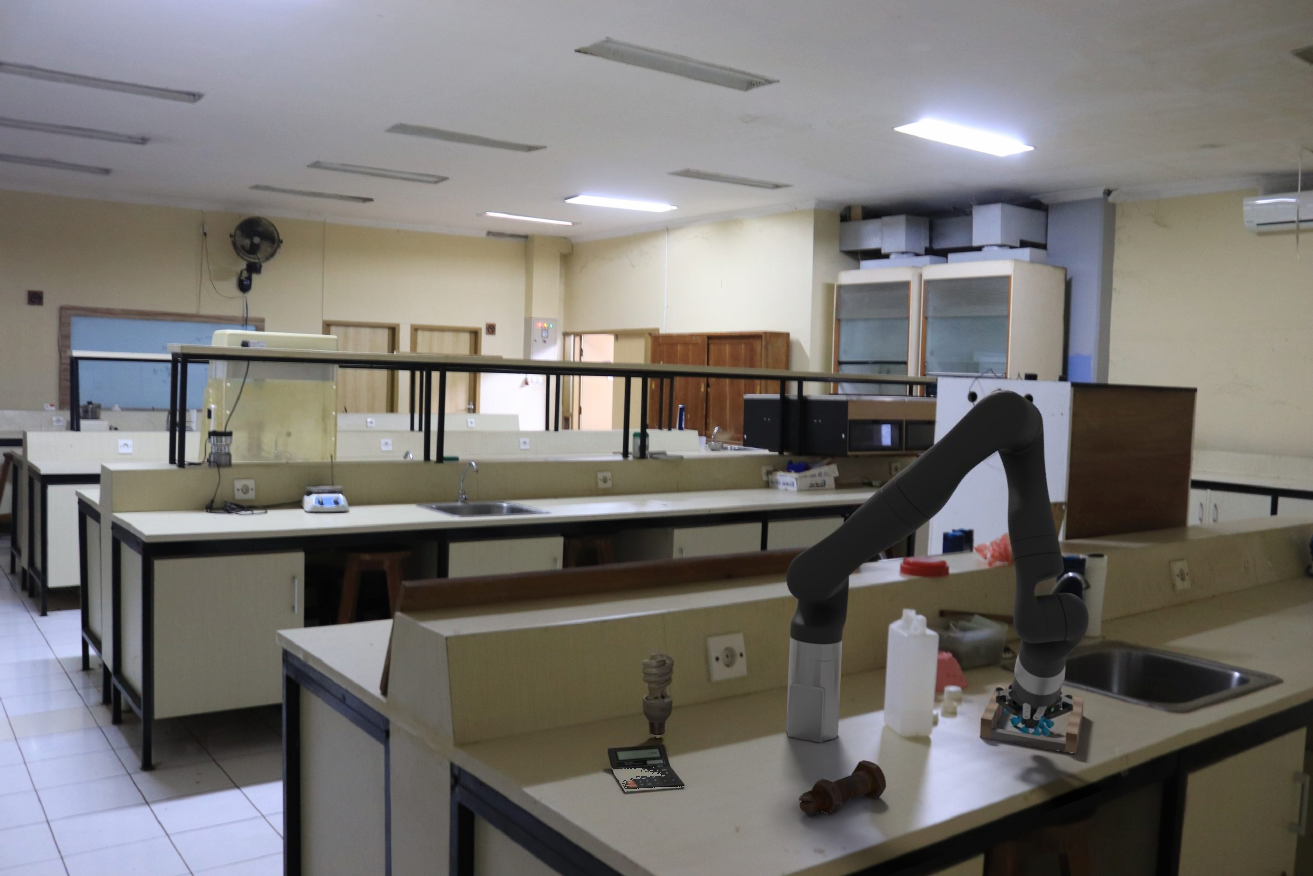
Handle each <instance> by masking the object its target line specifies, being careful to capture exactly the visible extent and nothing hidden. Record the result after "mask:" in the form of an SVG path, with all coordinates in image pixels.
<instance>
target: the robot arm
mask: <svg viewBox="0 0 1313 876" xmlns="http://www.w3.org/2000/svg"><path fill="white" fill-rule="evenodd" d="M1043 420H1044V419H1043V416H1042V413H1041V411H1040V410H1039V408H1038V407H1037V406H1036V404H1034V403H1033V402H1032V401H1030V400H1029V399H1028V398H1026V397H1024V396H1023V395H1021V394H1019V393H1017V392H1016V391H1013V390H1010V389H1009V390H1008V389H1000V390H997V391H996V390H995V391H994V392H993V391H992V392H990V393H988V394H987V395H985V396H983V397H982V398H981V399H980V400H979V401H978V402H977V403H976V404H974V405H973V407H971V409H970V410H968V412H966V414H965V415H963V417H962V418H961V419H960V420H959V421H958V422H957V423H956V424H955V425H954V426H953V427H952V428H951V429H950V430H949V431H948V432H947V433H946V434H945V435H944V436H942V438H940V439H939V440H938V441H937V442H936V443H934V445H932V446H930V447H929V448H928V449H927V450H925V452H923V453H922V454H920V455H919V456H918V457H917V458H916V459H915V460H913V461H912V462H911V463H910V464H908V465H907V466H906V467H905V468H903V469H902V470H901V471H899V472H898V473H897V474H896V475H894V476H893V477H892V478H891V479H889V480H888V481H887V482H886V483H885V484H883V485H881V487H880V488H879V489H878V490H877V491H875V492H874V493H873V494H872V495H871V496H870V497H869V498H868V499H867V500H866V501H865V502H864V503H862V505H860V506H859V507H858V508H857V509H856V510H855V511H854V512H853V513H852V514H851V515H850V516H849V517H848V518H847V519H846V520H845V522H843V523H842V524H841V525H840V526H839V527H838V528H837V529H835V530H834V531H833V532H832V533H831V532H830V534H829V535H827V536H826V537H824V538H823V539H820V541H818V542H816V543H815V544H813V545H812V546H810V547H809V548H807V549H805V550H804V551H802V552H801V553H799V554H798V555H796V556H795V557H794V558H793V559H792V560H791V562H790V564H789V566H788V568H787V571H786V585H787V589H788V591H789V593H790V594H791V596H793V597H794V598H795V599H797V606H796V610H795V613H794V616H793V617H792V619H791V622H790V629H789V631H790V632H789V634H790V635H789V652H788V653H789V655H788V656H789V657H788V658H789V659H788V674H787V675H788V676H787V679H788V680H787V697H786V699H787V702H786V703H787V704H786V725H785V728H786V729H785V730H786V732H787V737H789V738H795V739H799V740H805V741H810V742H816V743H820V744H821V743H823V742H825V741H831V740H834V739H836V738H837V737H838V736H839V721H840V699H841V697H840V696H841V695H840V694H841V672H842V654H843V653H842V651H843V650H842V649H843V647H842V646H843V633H844V632H843V631H844V628H845V624H846V622H847V617H848V615H847V614H848V605H849V590H850V576H851V575H852V573H854V572H855V571H856V570H858V568H860V567H861V566H863V565H864V564H865V562H867V561H869V560H870V559H872V558H874V557H875V556H877V555H880V554H881V553H883V552H884V551H886V550H888V549H890V548H891V547H893V546H894V545H896V544H898V543H900V542H902V541H903V540H905V539H906V538H907V537H909V536H910V535H912V534H914V532H916V531H917V530H919V529H920V528H921V527H923V525H925V524H926V523H928V522H929V521H930V520H931V519H932V518H934V517H935V516H936V515H938V514H939V513H940V511H941V510H942V509H943V508H944V507H945V506H946V504H947V503H948V502H949V500H950V499H951V497H952V496H953V495H954V493H955V491H956V490H957V488H958V487H959V486H960V484H961V482H962V481H963V480H964V478H965V477H966V476H967V475H968V474H969V473H970V472H971V471H972V470H973V469H974V468H975V467H977V466H978V465H980V464H981V463H982V462H984V461H985V460H986V459H988V458H989V457H991V456H992V455H994V454H995V453H998V455H999V458H1000V460H1001V462H1002V466H1003V469H1004V474H1005V477H1006V482H1007V495H1008V497H1007V498H1008V499H1007V530H1008V537H1009V543H1010V548H1011V553H1012V558H1013V565H1014V570H1015V596H1014V597H1015V598H1014V606H1013V617H1012V618H1013V627H1014V630H1015V632H1016V634H1017V635H1018V637H1019V638H1020V639H1021V640H1020V647H1019V652H1018V655H1017V657H1016V660H1015V666H1014V672H1013V677H1012V678H1013V679H1012V682H1011V684H1009V685H1008V686H1007V689H1006V690H1004V689H1003V688H1001V687H997V686H996V687H997V688H996V687H995V689H996V702H997V703H998V704H999V705H1000V706H1002V707H1003V708H1004V709H1006V710H1007V711H1008V712H1009V713H1011V715H1012V716H1013V717H1017V716H1019V715H1021V725H1022V726H1025V728H1029V730H1030V729H1031V730H1034V726H1036V727H1037V726H1038V725H1039V720H1040V719H1041V718H1042V717H1045V719H1047V720H1053V719H1056V718H1058V717H1060V716H1062V715H1065V714H1067V713H1070V712H1071V711H1073V698H1074V696H1073V695H1072V694H1065V695H1063V692H1062V687H1063V684H1064V682H1065V678H1066V677H1065V676H1066V675H1065V674H1066V663H1067V659H1068V656H1069V655H1070V654H1071V653H1072V652H1073V651H1074V650H1075V648H1077V646H1078V645H1079V644H1080V643H1081V641H1082V640H1083V639H1084V637H1085V635H1086V634H1087V631H1088V626H1089V620H1090V619H1089V618H1090V616H1089V610H1088V608H1087V606H1086V603H1085V602H1084V601H1083V600H1082V599H1081V598H1080V597H1079V596H1078V595H1076V594H1073V593H1070V592H1059V593H1051V594H1042V595H1041V594H1040V595H1036V594H1035V593H1036V592H1035V591H1036V588H1037V585H1038V584H1040V583H1042V582H1045V581H1048V580H1051V579H1054V578H1058V577H1059V576H1061V575H1062V574H1063V573H1064V570H1065V568H1064V567H1065V566H1064V559H1063V555H1062V551H1061V545H1060V542H1059V541H1060V540H1059V537H1058V533H1057V527H1056V524H1055V519H1054V514H1053V509H1052V506H1051V505H1052V504H1051V499H1050V494H1049V487H1048V480H1047V478H1048V477H1047V471H1046V459H1045V458H1046V457H1045V430H1044V428H1045V427H1044V421H1043ZM1052 708H1054V710H1053V711H1052ZM1004 709H1003V710H1004Z"/></svg>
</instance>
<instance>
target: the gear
mask: <svg viewBox="0 0 1313 876" xmlns="http://www.w3.org/2000/svg"><path fill="white" fill-rule="evenodd" d="M1053 710H1054V708H1052V711H1053ZM1003 712H1004V713H1005V714H1011V713H1009V712H1008V711H1007V710H1006V709H1003ZM1011 715H1012V714H1011ZM1009 721H1010V724H1011V725H1012V726H1013V727H1017V726H1018V725H1019V724H1020V723H1021V715H1019V716H1012V717H1011V718H1010V719H1009ZM1054 726H1055V722H1054V721H1053V720H1052V719H1050V720H1047V719H1045V717H1042V718H1041V719H1040V720H1039V725H1038V726H1037V727H1036V726H1034V729H1033V730H1034V731H1033V732H1032V733H1031V734H1032V735H1038V736H1044V737H1047V736H1048V735H1049V734H1051V729H1052V728H1053V727H1054ZM1039 728H1041V730H1040V729H1039ZM1019 730H1020V731H1019V732H1021V733H1026V734H1029V732H1030V728H1025V725H1022V727H1020V729H1019Z"/></svg>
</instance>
